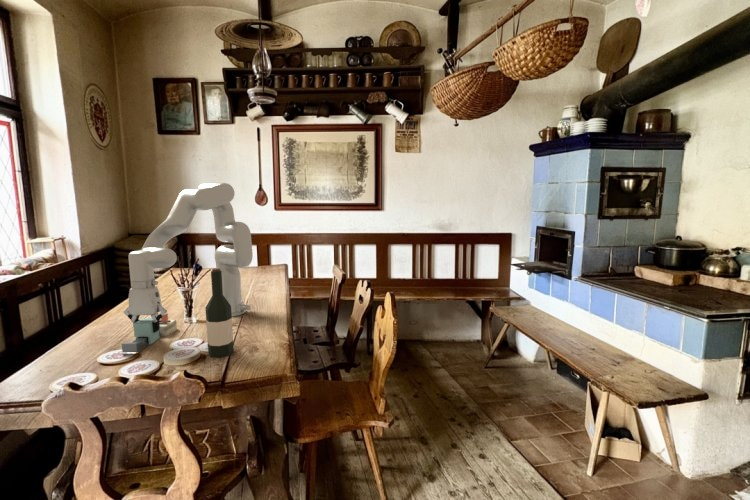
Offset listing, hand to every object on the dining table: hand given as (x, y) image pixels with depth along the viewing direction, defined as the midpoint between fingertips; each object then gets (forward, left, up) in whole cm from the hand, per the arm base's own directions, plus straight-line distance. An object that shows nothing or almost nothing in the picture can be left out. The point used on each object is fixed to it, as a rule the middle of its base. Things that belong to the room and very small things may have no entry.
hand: (147, 330), depth 151 cm
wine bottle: (-31, +10, -5) cm, 33 cm away
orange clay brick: (-1, -10, 0) cm, 10 cm away
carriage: (0, 0, -4) cm, 4 cm away
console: (+1, -10, -4) cm, 11 cm away
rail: (0, +2, -4) cm, 5 cm away
